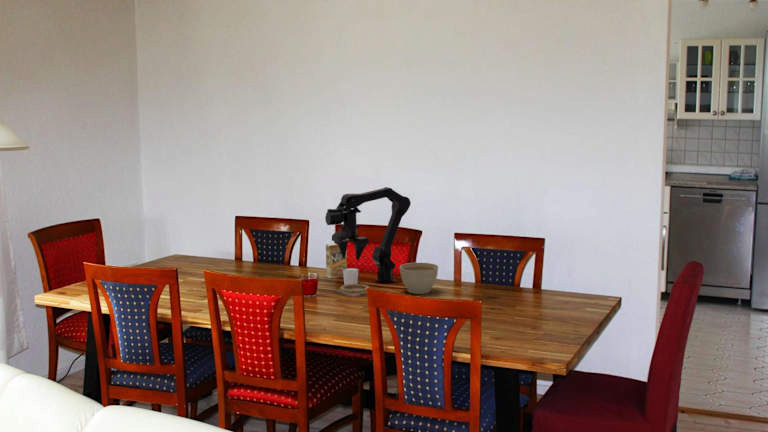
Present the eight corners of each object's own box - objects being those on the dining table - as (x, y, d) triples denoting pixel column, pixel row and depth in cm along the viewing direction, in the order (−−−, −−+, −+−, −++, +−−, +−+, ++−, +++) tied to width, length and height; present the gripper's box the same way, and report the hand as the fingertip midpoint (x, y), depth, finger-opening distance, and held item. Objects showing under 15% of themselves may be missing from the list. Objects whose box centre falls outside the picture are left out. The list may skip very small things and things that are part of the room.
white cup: (359, 283, 359) (359, 268, 358) (357, 287, 352) (357, 271, 351) (344, 283, 360) (343, 267, 359) (341, 286, 353) (341, 271, 352)
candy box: (329, 279, 369) (329, 245, 366) (325, 277, 372) (325, 244, 370) (347, 276, 373) (347, 243, 371) (343, 275, 376) (343, 242, 374)
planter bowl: (393, 289, 347) (392, 264, 346) (425, 285, 354) (425, 261, 353) (411, 298, 333) (411, 271, 331) (445, 293, 340) (445, 267, 339)
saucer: (356, 288, 350) (356, 282, 350) (374, 293, 342) (374, 287, 341) (334, 292, 342) (334, 287, 342) (353, 297, 334) (353, 292, 333)
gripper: (321, 223, 353) (322, 258, 356) (349, 227, 340) (350, 264, 342) (341, 220, 361) (342, 255, 363) (369, 224, 347) (370, 260, 350)
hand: (350, 258), depth 354 cm, fingers open, 9 cm apart
